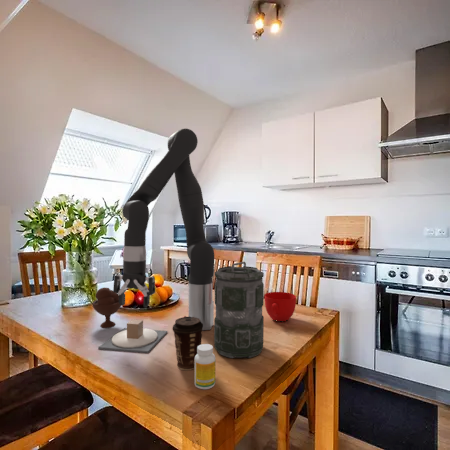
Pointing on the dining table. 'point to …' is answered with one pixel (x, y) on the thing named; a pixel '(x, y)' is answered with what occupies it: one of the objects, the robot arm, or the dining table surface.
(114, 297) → the ice cream bowl
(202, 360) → the supplement bottle
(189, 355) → the coffee cup
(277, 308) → the ceramic cup
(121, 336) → the lid
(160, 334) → the mat
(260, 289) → the canister
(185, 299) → the dining table surface
